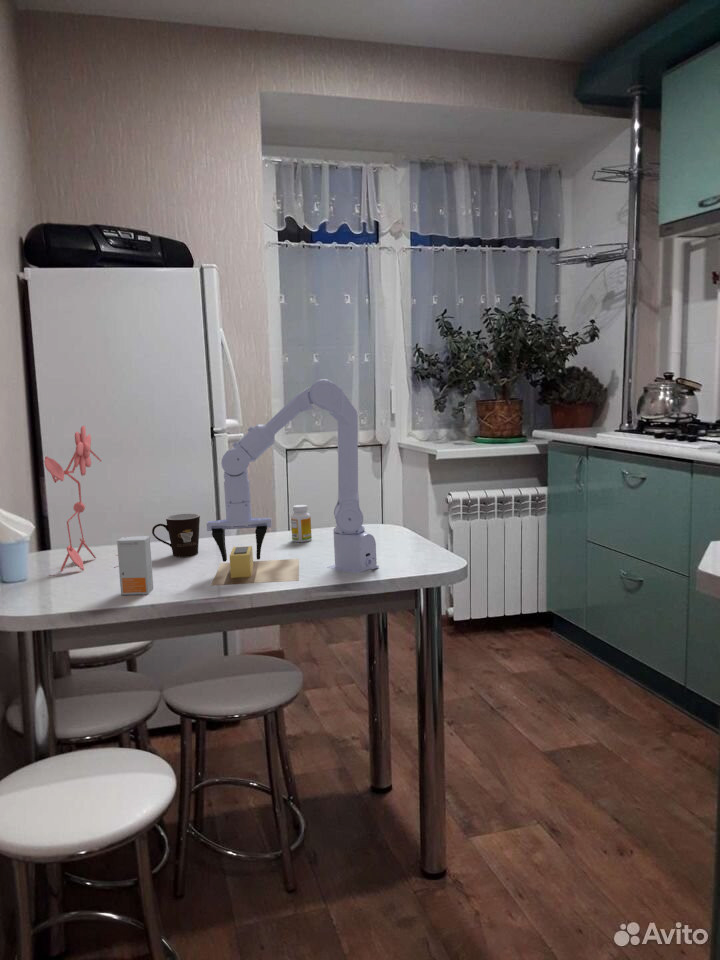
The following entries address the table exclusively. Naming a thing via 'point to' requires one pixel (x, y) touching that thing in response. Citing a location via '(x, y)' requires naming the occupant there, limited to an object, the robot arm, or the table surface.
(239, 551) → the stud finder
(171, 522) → the coffee mug
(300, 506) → the supplement bottle
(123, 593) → the skincare box
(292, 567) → the subfloor board
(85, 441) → the figurine
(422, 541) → the table surface
